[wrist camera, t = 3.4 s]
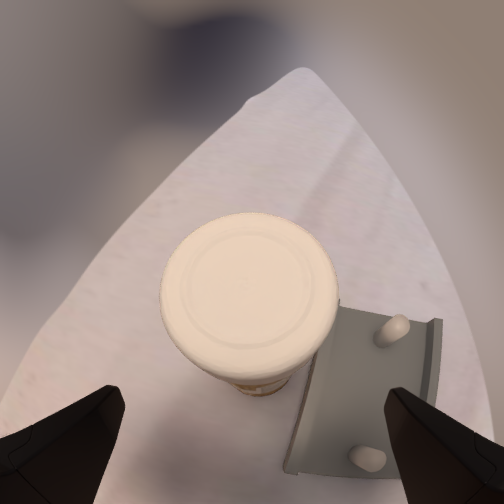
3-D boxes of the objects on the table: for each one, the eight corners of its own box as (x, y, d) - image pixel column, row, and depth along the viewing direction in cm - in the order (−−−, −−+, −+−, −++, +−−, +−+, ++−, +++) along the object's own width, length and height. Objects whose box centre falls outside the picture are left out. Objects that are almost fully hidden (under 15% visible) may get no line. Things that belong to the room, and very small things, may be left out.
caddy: (405, 476, 13) (431, 485, 9) (282, 467, 14) (286, 480, 11) (431, 326, 18) (456, 309, 15) (324, 306, 20) (335, 284, 17)
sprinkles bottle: (213, 355, 19) (129, 257, 7) (269, 321, 20) (271, 182, 8) (249, 410, 16) (211, 417, 5) (306, 373, 18) (380, 302, 6)
